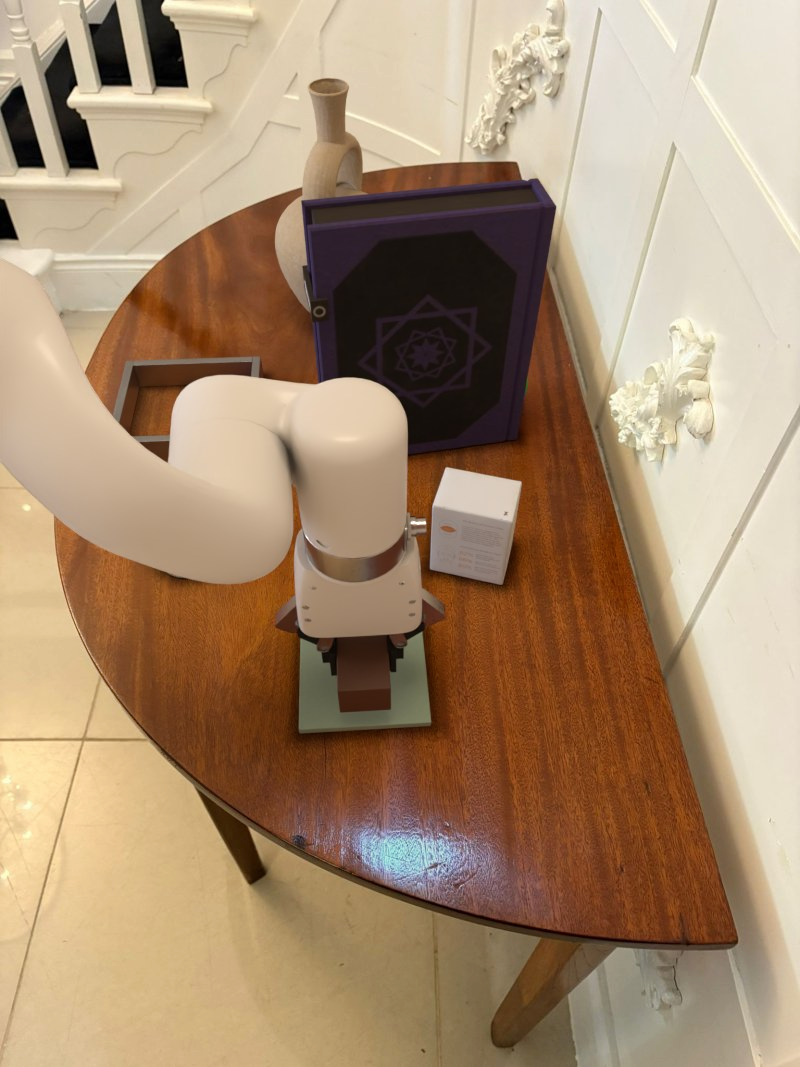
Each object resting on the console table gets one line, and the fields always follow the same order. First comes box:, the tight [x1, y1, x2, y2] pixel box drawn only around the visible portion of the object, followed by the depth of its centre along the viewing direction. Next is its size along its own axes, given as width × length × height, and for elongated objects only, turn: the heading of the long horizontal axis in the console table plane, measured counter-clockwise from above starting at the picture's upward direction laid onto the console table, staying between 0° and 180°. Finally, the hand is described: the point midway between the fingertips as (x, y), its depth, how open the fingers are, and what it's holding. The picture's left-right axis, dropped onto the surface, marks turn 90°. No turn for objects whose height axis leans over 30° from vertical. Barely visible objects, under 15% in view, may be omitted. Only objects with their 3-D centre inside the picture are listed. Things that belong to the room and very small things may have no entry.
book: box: [301, 177, 557, 455], centre depth 83 cm, size 24×6×30 cm, turn 102°
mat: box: [298, 631, 432, 734], centre depth 74 cm, size 12×10×1 cm
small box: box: [429, 466, 523, 586], centre depth 79 cm, size 8×6×10 cm
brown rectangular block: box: [337, 635, 391, 713], centre depth 70 cm, size 4×10×4 cm, turn 4°
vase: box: [274, 77, 368, 314], centre depth 100 cm, size 17×17×30 cm
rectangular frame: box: [112, 355, 265, 463], centre depth 96 cm, size 17×15×4 cm
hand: (363, 658), depth 71 cm, fingers closed on brown rectangular block, 4 cm apart
